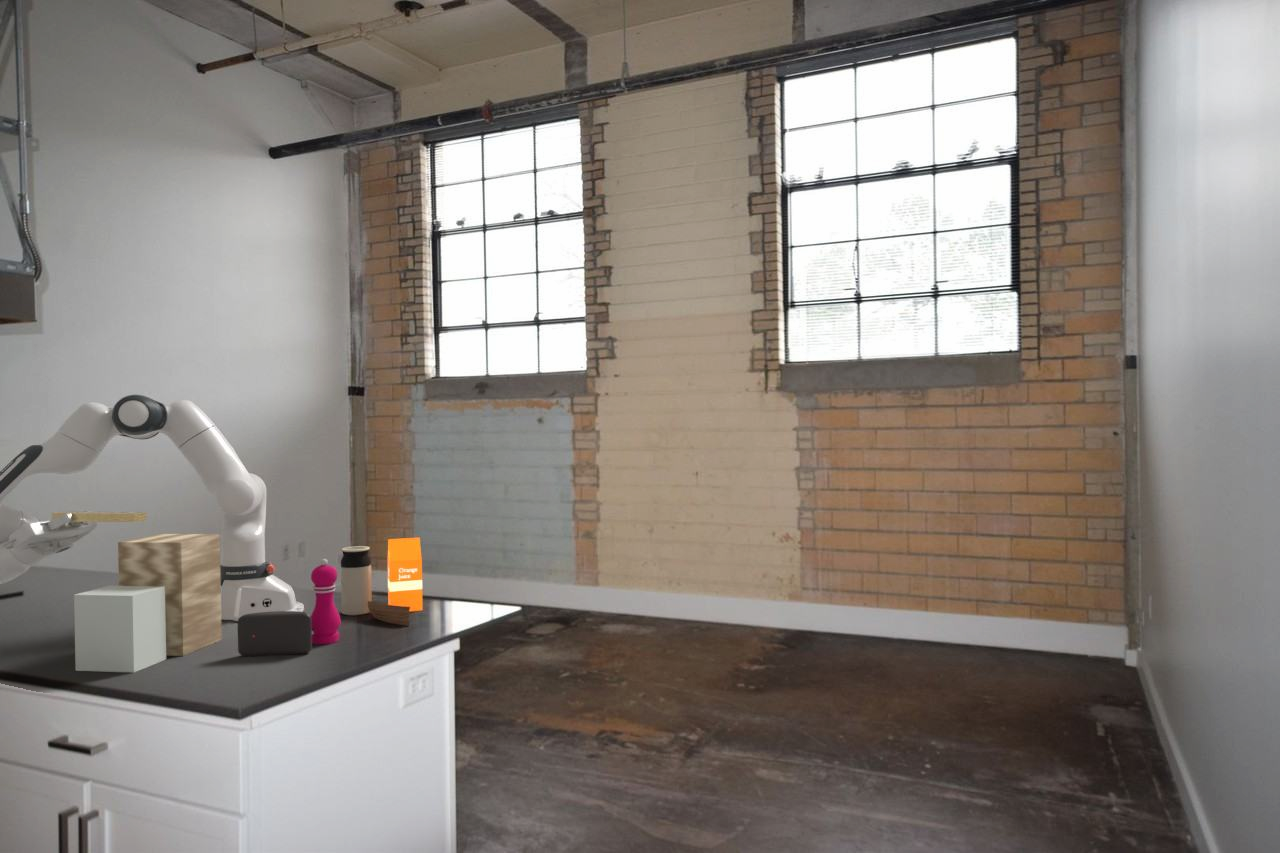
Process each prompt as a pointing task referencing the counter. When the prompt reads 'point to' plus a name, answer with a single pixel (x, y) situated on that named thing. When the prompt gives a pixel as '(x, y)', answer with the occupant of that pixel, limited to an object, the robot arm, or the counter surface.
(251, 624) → the red-dot charcoal block
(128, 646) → the pale grey block
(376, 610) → the wood plank
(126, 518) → the tan long flat block
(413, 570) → the orange juice
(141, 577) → the oak pedestal
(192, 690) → the counter surface
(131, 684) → the counter surface
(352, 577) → the travel mug
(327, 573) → the pepper mill
